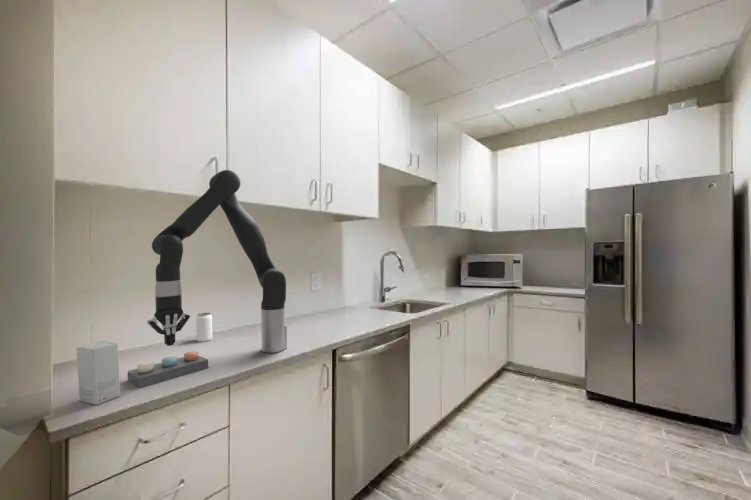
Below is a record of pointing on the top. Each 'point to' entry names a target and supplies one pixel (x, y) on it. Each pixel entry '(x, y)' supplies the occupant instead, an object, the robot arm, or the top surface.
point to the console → (166, 371)
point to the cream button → (145, 367)
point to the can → (204, 327)
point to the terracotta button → (191, 356)
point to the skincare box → (98, 372)
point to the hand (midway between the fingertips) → (169, 345)
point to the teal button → (169, 361)
